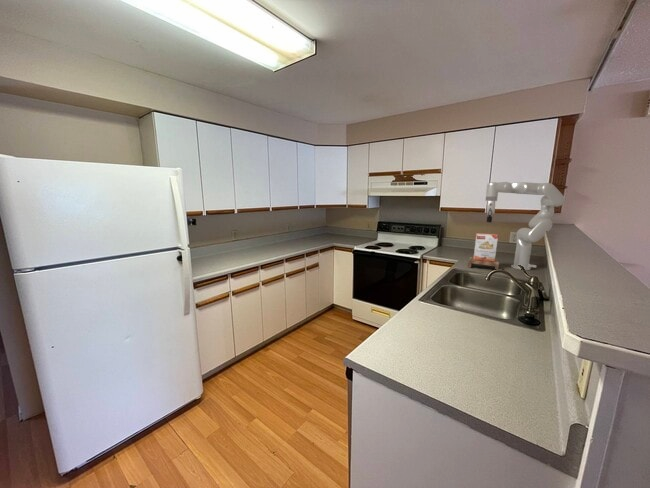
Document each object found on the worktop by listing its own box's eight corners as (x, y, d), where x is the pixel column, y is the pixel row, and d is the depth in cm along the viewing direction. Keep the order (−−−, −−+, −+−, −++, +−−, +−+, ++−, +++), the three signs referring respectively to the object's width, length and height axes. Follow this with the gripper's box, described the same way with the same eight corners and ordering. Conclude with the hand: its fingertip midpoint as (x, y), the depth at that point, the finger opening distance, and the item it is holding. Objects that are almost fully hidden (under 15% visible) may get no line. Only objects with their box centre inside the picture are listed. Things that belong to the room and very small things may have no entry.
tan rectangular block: (497, 267, 210) (498, 260, 209) (497, 271, 198) (498, 264, 197) (469, 263, 221) (470, 256, 220) (467, 267, 209) (468, 260, 208)
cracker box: (474, 260, 208) (477, 234, 204) (473, 258, 214) (476, 233, 210) (495, 262, 203) (498, 235, 199) (493, 260, 208) (496, 234, 205)
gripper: (497, 199, 192) (494, 222, 195) (497, 198, 206) (494, 220, 209) (485, 199, 196) (483, 222, 199) (485, 198, 210) (483, 220, 213)
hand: (489, 221), depth 204 cm, fingers open, 9 cm apart
